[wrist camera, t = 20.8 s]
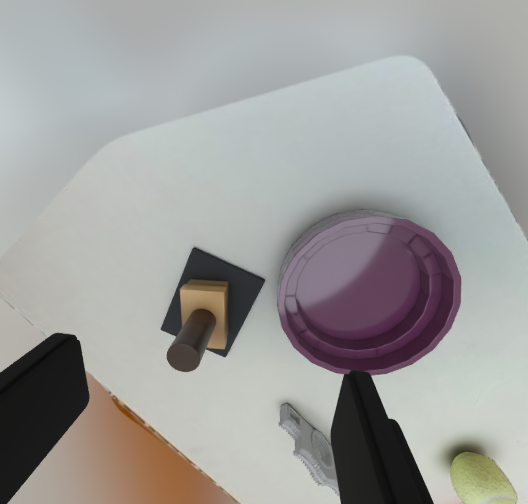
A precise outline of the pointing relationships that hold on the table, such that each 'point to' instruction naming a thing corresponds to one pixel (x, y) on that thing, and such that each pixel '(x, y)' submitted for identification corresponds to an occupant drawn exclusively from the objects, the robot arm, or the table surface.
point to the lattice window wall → (310, 448)
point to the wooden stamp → (200, 323)
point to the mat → (239, 293)
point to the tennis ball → (480, 480)
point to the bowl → (367, 292)
